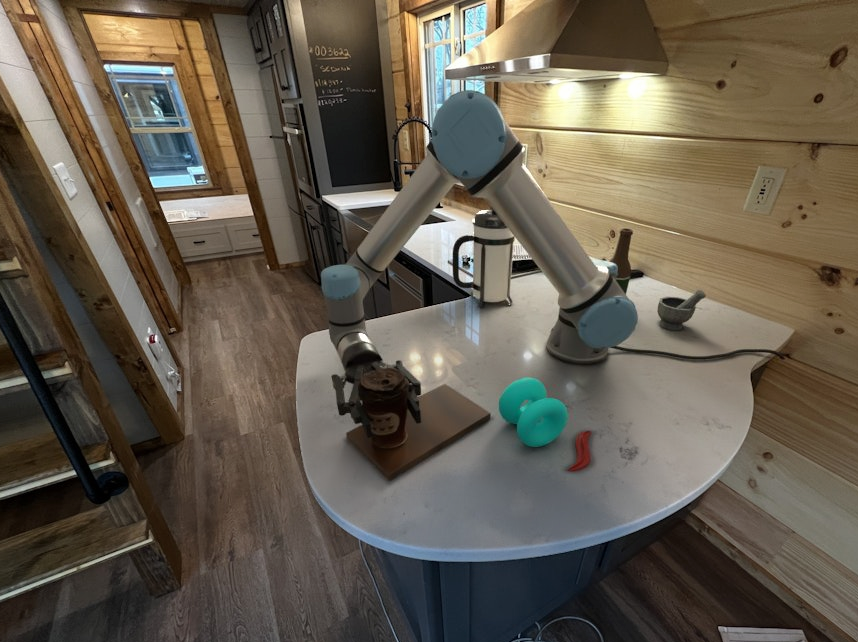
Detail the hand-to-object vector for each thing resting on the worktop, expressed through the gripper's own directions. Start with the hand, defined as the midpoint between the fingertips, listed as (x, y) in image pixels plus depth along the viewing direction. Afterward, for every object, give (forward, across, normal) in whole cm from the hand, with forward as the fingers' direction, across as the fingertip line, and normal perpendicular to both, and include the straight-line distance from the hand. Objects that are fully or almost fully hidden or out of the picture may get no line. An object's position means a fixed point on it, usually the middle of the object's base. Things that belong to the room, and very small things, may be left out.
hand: (394, 423), depth 65 cm
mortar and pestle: (-18, -89, -9) cm, 91 cm away
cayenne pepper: (+12, -31, -9) cm, 34 cm away
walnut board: (-7, -7, -9) cm, 13 cm away
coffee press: (-57, -48, -9) cm, 75 cm away
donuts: (+3, -25, -9) cm, 27 cm away
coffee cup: (-5, 0, -7) cm, 9 cm away
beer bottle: (-36, -81, -9) cm, 89 cm away
